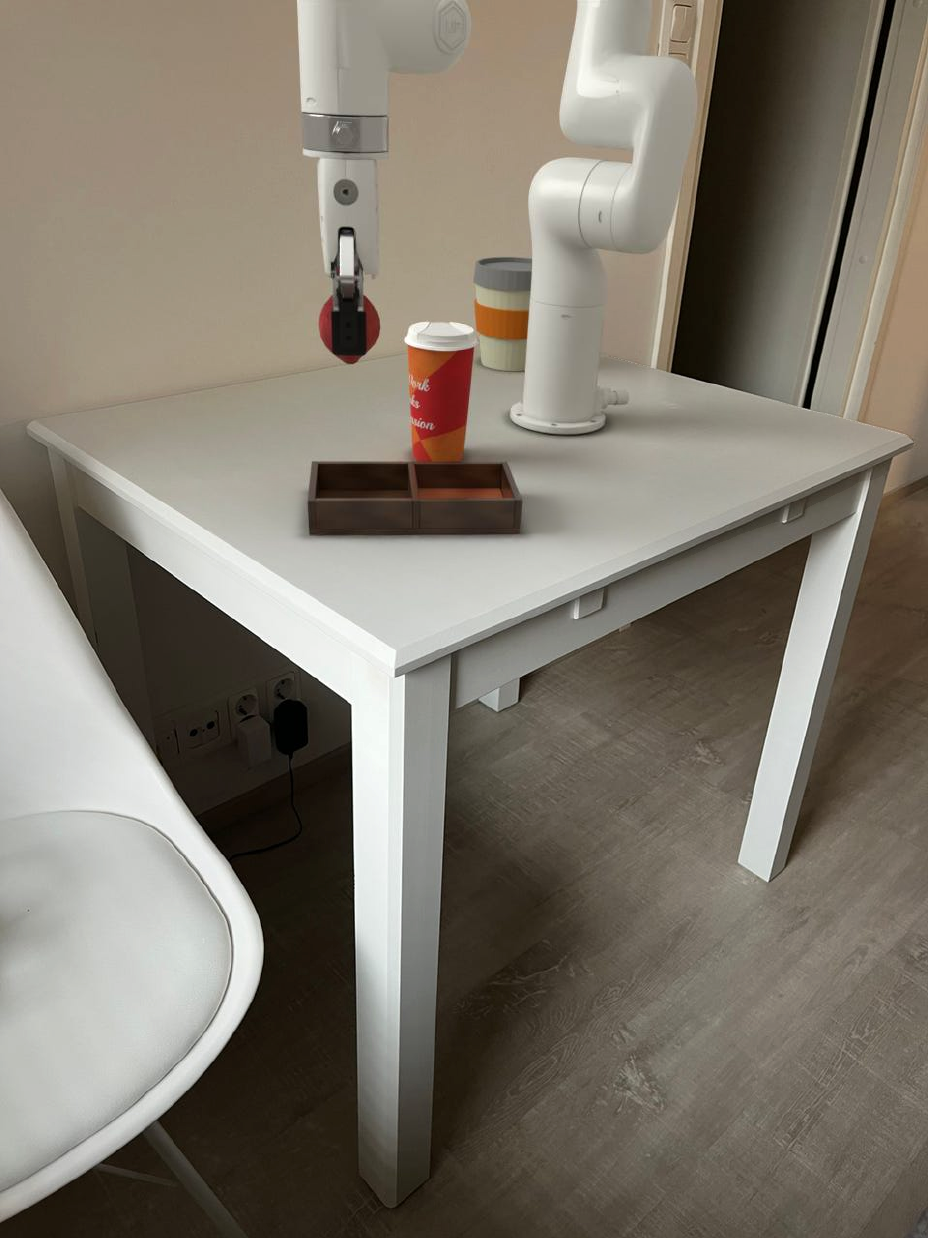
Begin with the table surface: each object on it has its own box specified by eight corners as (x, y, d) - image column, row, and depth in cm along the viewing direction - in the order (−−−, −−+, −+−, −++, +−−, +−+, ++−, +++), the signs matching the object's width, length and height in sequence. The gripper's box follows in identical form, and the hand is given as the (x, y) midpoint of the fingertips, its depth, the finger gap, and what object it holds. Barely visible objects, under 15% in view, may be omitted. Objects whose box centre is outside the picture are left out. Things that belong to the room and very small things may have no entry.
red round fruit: (354, 375, 91) (353, 287, 87) (307, 365, 93) (303, 279, 89) (391, 363, 95) (391, 278, 91) (345, 353, 98) (343, 270, 94)
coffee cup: (402, 444, 118) (403, 318, 111) (469, 444, 119) (474, 320, 112) (404, 469, 111) (405, 336, 103) (475, 469, 112) (482, 338, 104)
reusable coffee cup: (487, 349, 160) (492, 253, 153) (559, 359, 156) (568, 262, 148) (457, 366, 150) (460, 265, 142) (533, 378, 146) (541, 274, 138)
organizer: (505, 492, 106) (507, 461, 104) (520, 533, 97) (522, 500, 95) (313, 492, 104) (311, 460, 102) (309, 535, 94) (307, 500, 93)
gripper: (391, 146, 77) (391, 370, 86) (386, 133, 92) (386, 325, 101) (296, 143, 77) (306, 369, 86) (307, 130, 92) (314, 324, 101)
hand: (349, 343), depth 93 cm, fingers closed on red round fruit, 5 cm apart
